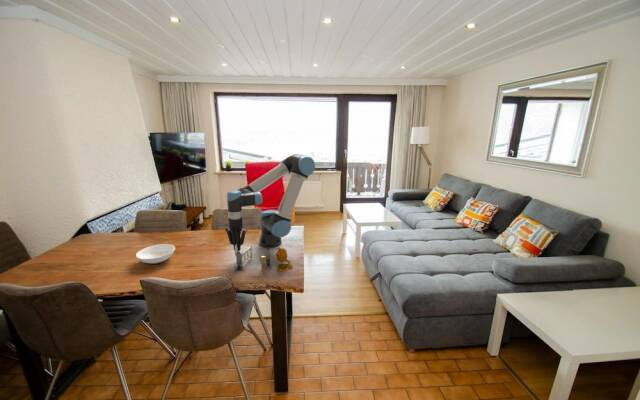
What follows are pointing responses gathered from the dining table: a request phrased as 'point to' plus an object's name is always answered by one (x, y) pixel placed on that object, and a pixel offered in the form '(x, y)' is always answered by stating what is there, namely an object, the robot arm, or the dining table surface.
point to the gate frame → (263, 262)
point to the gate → (247, 255)
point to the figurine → (282, 260)
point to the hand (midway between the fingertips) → (237, 255)
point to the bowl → (155, 253)
